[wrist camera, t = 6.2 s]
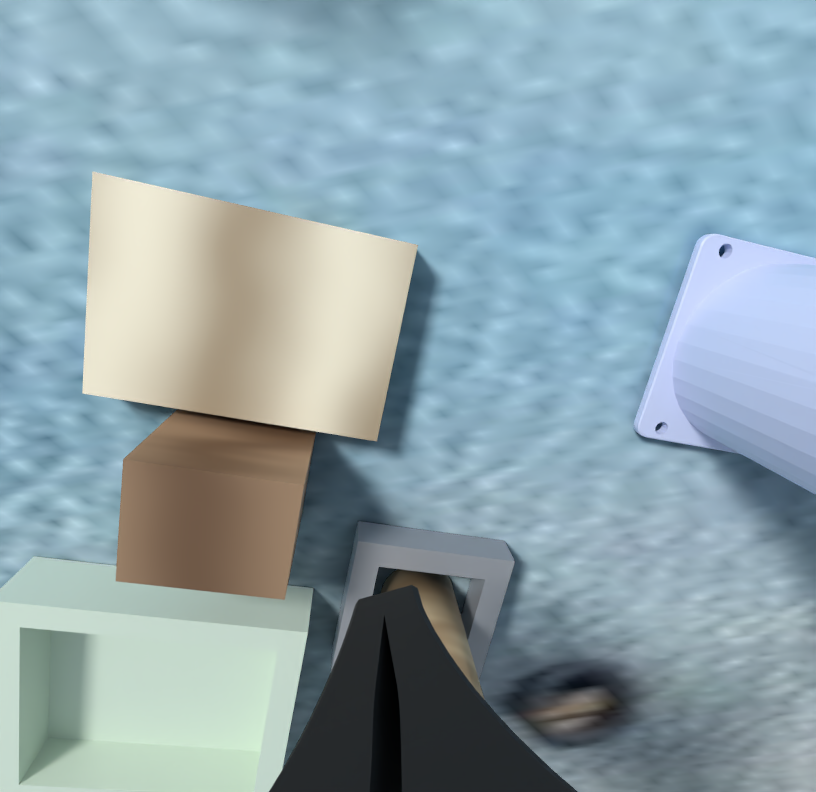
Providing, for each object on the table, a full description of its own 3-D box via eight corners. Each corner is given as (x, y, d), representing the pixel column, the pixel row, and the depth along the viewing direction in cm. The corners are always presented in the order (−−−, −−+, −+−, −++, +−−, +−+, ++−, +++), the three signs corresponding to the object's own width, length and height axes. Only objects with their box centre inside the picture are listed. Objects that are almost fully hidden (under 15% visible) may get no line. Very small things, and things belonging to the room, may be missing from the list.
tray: (313, 588, 22) (307, 632, 19) (282, 756, 24) (273, 815, 22) (33, 556, 20) (-12, 600, 18) (31, 740, 22) (-10, 802, 20)
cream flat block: (411, 245, 19) (418, 244, 17) (374, 423, 20) (376, 441, 18) (122, 179, 17) (92, 171, 15) (110, 378, 19) (82, 393, 17)
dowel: (460, 567, 22) (505, 707, 15) (444, 628, 23) (480, 785, 16) (388, 558, 22) (402, 699, 15) (374, 621, 22) (381, 780, 16)
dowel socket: (504, 540, 22) (514, 561, 20) (469, 660, 24) (476, 687, 22) (358, 520, 21) (358, 541, 20) (332, 647, 23) (330, 674, 21)
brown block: (316, 426, 20) (304, 485, 15) (301, 517, 21) (284, 600, 16) (182, 405, 19) (123, 459, 14) (173, 500, 20) (115, 581, 15)
